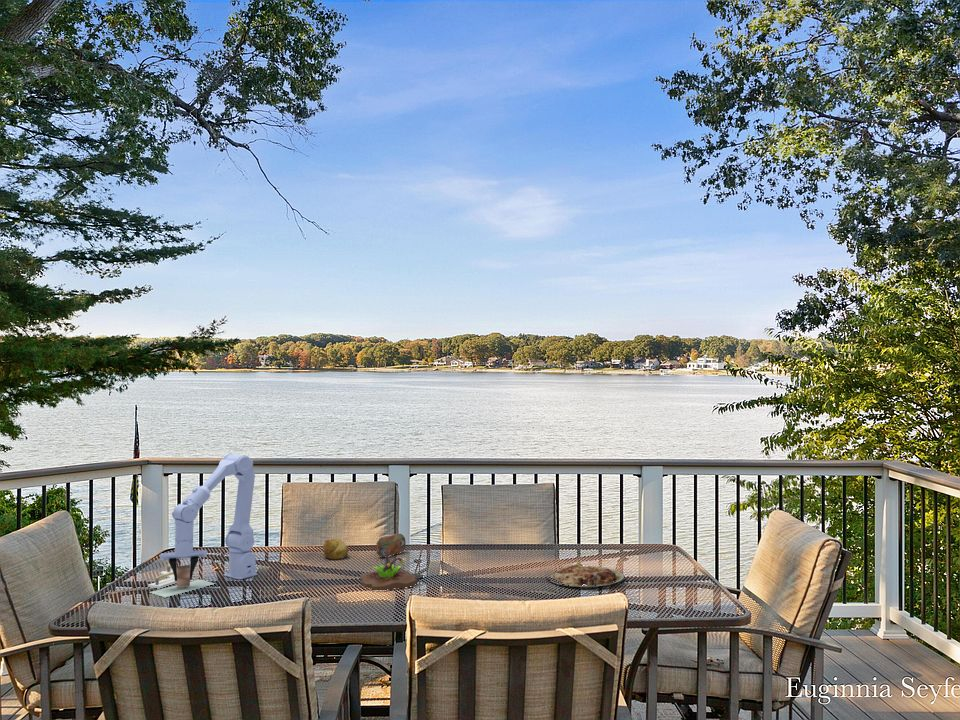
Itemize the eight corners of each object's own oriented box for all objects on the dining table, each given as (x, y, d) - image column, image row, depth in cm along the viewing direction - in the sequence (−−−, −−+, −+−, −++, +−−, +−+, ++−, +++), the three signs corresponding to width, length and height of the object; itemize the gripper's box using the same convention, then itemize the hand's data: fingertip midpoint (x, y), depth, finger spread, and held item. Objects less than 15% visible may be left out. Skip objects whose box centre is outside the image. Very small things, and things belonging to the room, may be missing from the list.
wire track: (199, 578, 255) (200, 568, 256) (156, 590, 242) (156, 579, 242) (172, 571, 265) (172, 561, 265) (128, 582, 251) (129, 571, 251)
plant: (405, 573, 266) (405, 543, 266) (423, 587, 248) (423, 555, 248) (352, 579, 258) (353, 548, 258) (367, 594, 240) (367, 561, 240)
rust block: (189, 582, 246) (189, 565, 246) (189, 585, 242) (190, 567, 242) (176, 583, 244) (177, 566, 244) (176, 586, 240) (177, 568, 241)
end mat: (215, 584, 248) (215, 583, 248) (165, 598, 233) (165, 596, 233) (199, 580, 253) (199, 579, 253) (149, 593, 238) (149, 592, 238)
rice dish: (536, 588, 252) (536, 573, 252) (559, 566, 277) (558, 552, 277) (615, 598, 241) (615, 582, 241) (631, 574, 266) (631, 560, 266)
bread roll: (323, 553, 295) (323, 534, 295) (347, 552, 297) (347, 533, 297) (322, 561, 282) (323, 540, 283) (347, 560, 284) (348, 540, 284)
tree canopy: (380, 559, 285) (380, 538, 286) (374, 558, 287) (375, 537, 288) (406, 552, 297) (406, 532, 298) (400, 551, 299) (400, 531, 300)
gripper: (206, 535, 250) (205, 574, 250) (161, 538, 244) (160, 578, 244) (207, 539, 244) (206, 579, 243) (160, 543, 238) (159, 584, 237)
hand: (183, 579), depth 243 cm, fingers closed on rust block, 4 cm apart
